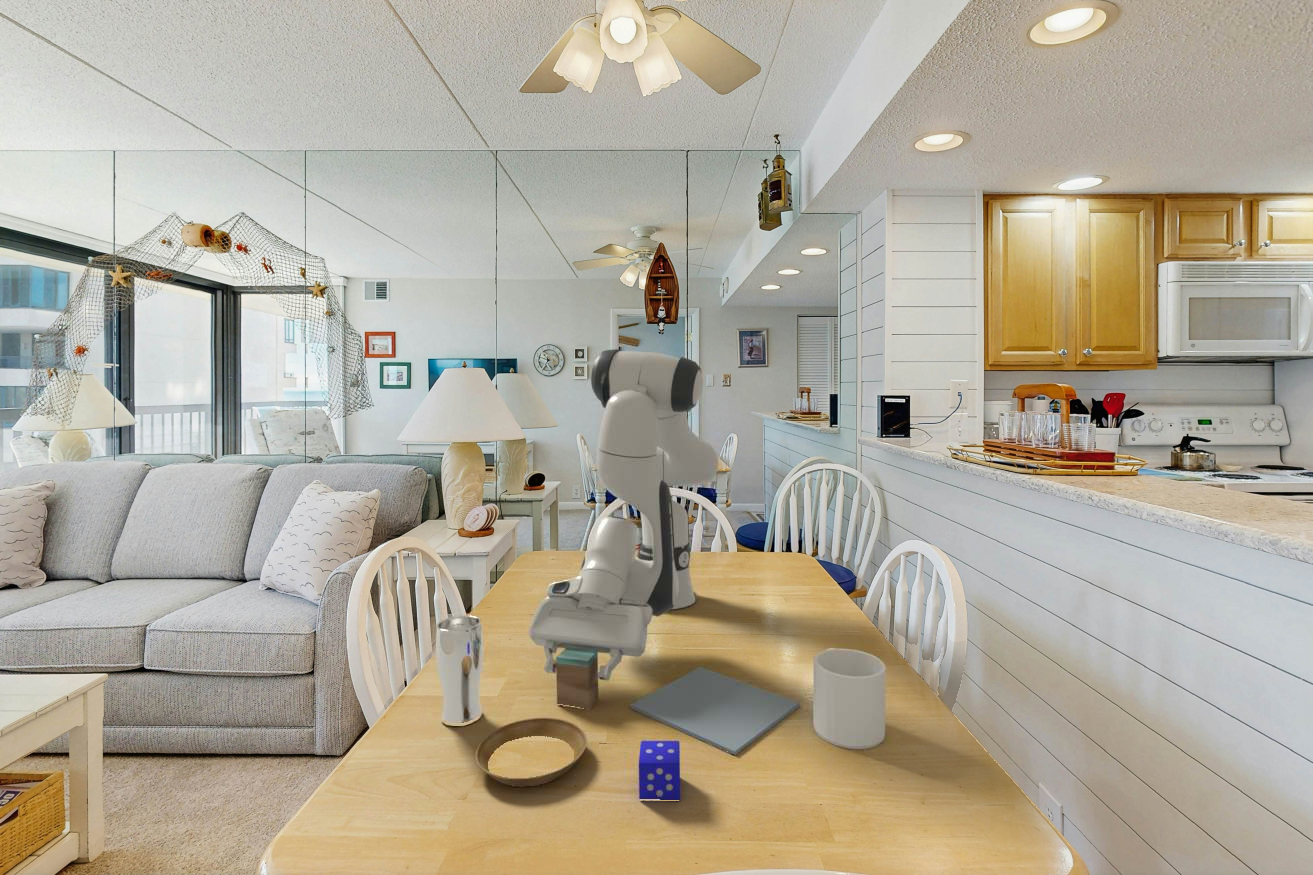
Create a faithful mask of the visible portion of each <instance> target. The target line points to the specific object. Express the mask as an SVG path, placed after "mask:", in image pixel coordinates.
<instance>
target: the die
mask: <svg viewBox="0 0 1313 875" xmlns="http://www.w3.org/2000/svg"><path fill="white" fill-rule="evenodd" d="M680 744H681V743H680V741H679V740H641V741H640V745H639V746H640V747H639V757H638V793H639V794H638V800H639V799H660V800H680V801H681V761H680V760H681V754H680V753H681V752H680V749H681V748H680V746H681V745H680Z"/></svg>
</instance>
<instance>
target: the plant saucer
mask: <svg viewBox="0 0 1313 875" xmlns="http://www.w3.org/2000/svg"><path fill="white" fill-rule="evenodd" d="M528 736H529V737H531V736H545V737H546V736H547V737H552V738H557V739H560V740H563V741H565V742H566V743H568V744H569V746H570V747H571V748H572V749H573V750H574V760H573V761H572V762H571V763H570V764H568V765H567V766H565V767H563V768H561V769H559V770H557V771H554V772H551V773H548V774H545V775H541V776H536V777H529V778H508V777H502V776H498V775H495V774H492V773H490V772H489V769H488V761H489V759H490V757H491V755H492V754H493V753H494V751H495V750H496V749H497V748H499V747H500V746H501V745H503V744H504V743H506V742H508V741H512V740H515V739H519V738H523V737H528ZM587 739H588V738H587V735H586V733H585V732H584V731H583V729H582V728H581V727H579V726H578V725H577V724H575V723H574V722H571V721H568V720H565V719H562V718H555V717H532V718H525V719H521V720H516V721H515V722H514V721H513V722H511V723H508V724H505V725H503V726H501V727H498V728H497V729H495V730H493V731H491V732H490V733H489V734H487V735H486V736H485V737H484V738H483V739H482V740H481V741H480V743H478V746H477V748H476V751H475V762H476V764H477V765H478V766H479V768H480V769H481V770H482V771H483V772H484V773H485V774H487V775H488V776H489V777H490V778H492V779H493V780H495V781H496V782H499V783H501V784H503V783H504V784H503V785H506V784H508V785H507V786H509V785H514V786H513V787H515V786H531V785H537V786H539V785H538V784H542V783H545V782H548V781H550V782H552V781H551V780H553V781H555V780H556V778H557V779H558V778H560V777H562V776H563V775H564V774H565V773H566V772H568V771H569V770H570V769H571V768H572V767H573V766H574V765H575V764H576V763H577V761H578V760H579V759H580V758H581V757H582V755H583V753H584V752H585V749H586V747H587V743H588V740H587ZM559 776H560V777H559ZM554 779H555V780H554ZM548 783H549V782H548ZM545 784H546V783H545ZM542 785H543V784H542Z"/></svg>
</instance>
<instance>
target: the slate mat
mask: <svg viewBox="0 0 1313 875" xmlns="http://www.w3.org/2000/svg"><path fill="white" fill-rule="evenodd" d="M629 707H630V709H631V710H633V711H636V712H637V713H640V714H641V715H644V716H646V715H647V717H648V718H651V719H652V720H655V721H657V720H658V721H657V722H660V723H662V724H665V725H667V726H668V725H669V727H671V728H673V729H674V730H675V729H676V730H678V731H679V732H682V733H684V734H687V735H688V736H690V735H691V736H690V737H692V736H693V738H695V739H697V738H698V739H697V740H699V739H700V740H699V741H701V740H702V742H703V741H705V742H704V743H706V742H707V743H706V744H708V743H710V744H712V745H714V746H716V747H715V748H717V747H718V748H717V749H719V748H721V749H723V750H725V751H728V752H729V753H728V752H727V753H728V754H730V753H731V754H730V755H732V754H734V755H735V756H737V755H738V754H739V753H741V752H742V751H743V750H744V749H746V748H747V747H748V746H749V745H751V744H752V743H753V742H755V741H756V740H757V739H759V738H760V737H761V736H763V735H764V734H766V732H768V731H769V730H771V729H772V728H773V727H774V726H776V725H777V724H779V723H780V722H781V721H782V720H783V719H785V718H786V717H788V716H789V715H790V714H792V713H793V712H794V711H795V710H797V709H798V708H799V707H801V702H799V701H798V700H795V699H791V698H789V697H785V696H783V695H780V694H777V693H774V692H772V691H768V690H767V689H764V688H761V687H758V686H755V685H752V684H750V683H747V682H744V681H741V680H737V679H735V678H733V677H729V676H727V675H724V674H721V673H718V672H715V671H713V670H710V669H708V668H707V669H706V668H704V667H701V666H699V667H697V668H696V669H693V670H692V671H690V672H688V673H686V674H685V675H683V676H681V677H678V678H677V679H675V680H673V681H672V682H670V683H667V684H666V685H663V686H662V687H661V688H658V689H657V690H655V691H653V692H651V693H649V694H647V695H646V696H643V697H642V698H640V699H638V700H636V701H634V702H633V703H630V705H629ZM710 744H709V745H710ZM712 745H711V746H712ZM714 746H713V747H714ZM745 747H746V748H745ZM721 749H720V750H721ZM742 749H743V750H742ZM723 750H722V751H723ZM741 750H742V751H741ZM725 751H724V752H725ZM738 752H739V753H738ZM737 753H738V754H737ZM734 755H733V756H734Z"/></svg>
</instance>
